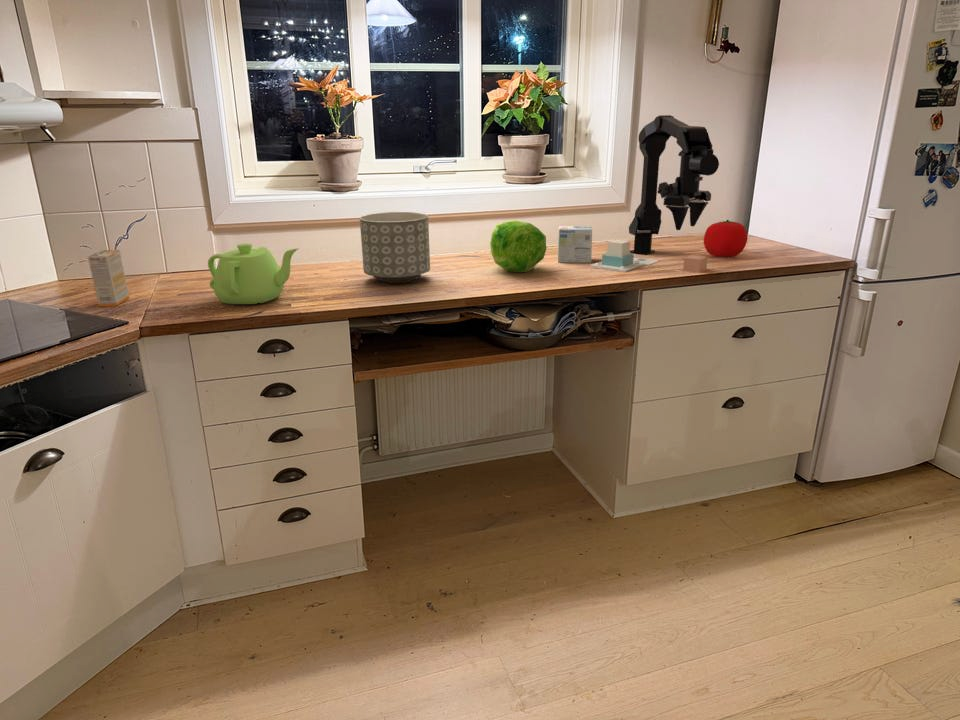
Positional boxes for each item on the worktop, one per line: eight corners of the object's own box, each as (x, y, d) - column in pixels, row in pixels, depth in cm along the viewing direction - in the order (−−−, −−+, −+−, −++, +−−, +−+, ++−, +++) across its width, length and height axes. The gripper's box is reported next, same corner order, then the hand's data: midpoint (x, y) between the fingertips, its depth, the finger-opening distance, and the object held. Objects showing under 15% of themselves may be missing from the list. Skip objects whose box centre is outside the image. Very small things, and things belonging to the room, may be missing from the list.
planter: (403, 269, 208) (399, 209, 202) (444, 279, 195) (442, 215, 189) (351, 280, 196) (346, 217, 190) (391, 291, 183) (387, 223, 177)
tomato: (717, 261, 214) (721, 224, 210) (695, 253, 226) (698, 218, 222) (753, 259, 217) (758, 222, 213) (729, 251, 229) (733, 216, 225)
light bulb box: (590, 258, 220) (592, 225, 217) (591, 263, 214) (593, 228, 210) (557, 258, 221) (558, 225, 218) (557, 263, 215) (558, 228, 211)
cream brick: (614, 252, 211) (615, 239, 210) (629, 254, 208) (630, 241, 207) (606, 254, 208) (607, 241, 206) (621, 256, 205) (622, 243, 203)
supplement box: (111, 298, 180) (101, 249, 175) (129, 298, 180) (120, 249, 176) (97, 307, 172) (86, 256, 168) (117, 306, 172) (106, 255, 168)
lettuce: (526, 269, 217) (530, 221, 214) (552, 276, 199) (556, 223, 195) (477, 267, 212) (480, 217, 209) (498, 274, 193) (502, 220, 190)
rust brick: (690, 267, 206) (691, 254, 205) (706, 270, 203) (707, 256, 202) (683, 270, 203) (684, 257, 201) (699, 273, 200) (700, 259, 198)
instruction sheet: (630, 257, 221) (630, 256, 221) (658, 261, 215) (659, 260, 215) (619, 261, 216) (619, 260, 216) (648, 265, 210) (648, 264, 210)
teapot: (204, 298, 180) (196, 243, 175) (277, 286, 191) (271, 234, 186) (227, 313, 166) (219, 254, 161) (305, 299, 177) (299, 244, 172)
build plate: (610, 260, 217) (610, 249, 216) (644, 265, 210) (645, 253, 209) (590, 266, 209) (590, 255, 207) (625, 272, 201) (625, 260, 200)
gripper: (678, 170, 206) (674, 222, 211) (648, 174, 193) (644, 229, 198) (714, 171, 199) (709, 225, 204) (685, 175, 186) (680, 233, 191)
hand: (685, 228), depth 199 cm, fingers open, 9 cm apart
